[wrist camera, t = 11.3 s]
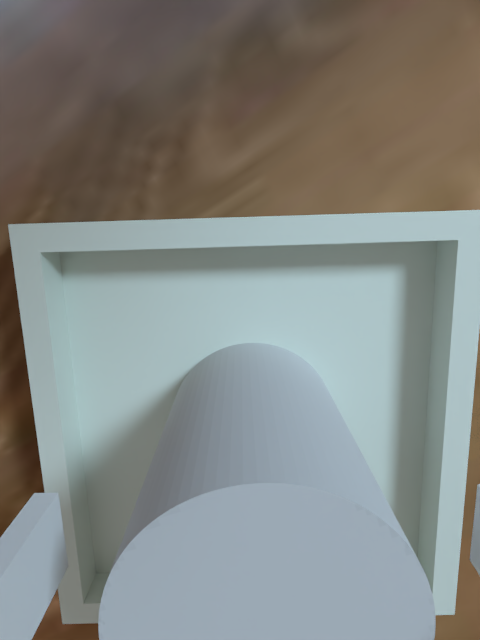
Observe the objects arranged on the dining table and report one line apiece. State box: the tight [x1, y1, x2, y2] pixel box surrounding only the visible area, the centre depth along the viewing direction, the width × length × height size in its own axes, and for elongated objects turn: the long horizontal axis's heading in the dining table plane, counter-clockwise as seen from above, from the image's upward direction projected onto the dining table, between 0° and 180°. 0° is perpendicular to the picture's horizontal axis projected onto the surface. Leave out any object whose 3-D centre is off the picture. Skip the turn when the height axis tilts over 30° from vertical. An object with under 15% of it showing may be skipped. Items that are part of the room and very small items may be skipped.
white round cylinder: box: [98, 343, 435, 640], centre depth 17 cm, size 8×8×12 cm
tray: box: [8, 210, 480, 624], centre depth 22 cm, size 20×20×3 cm
